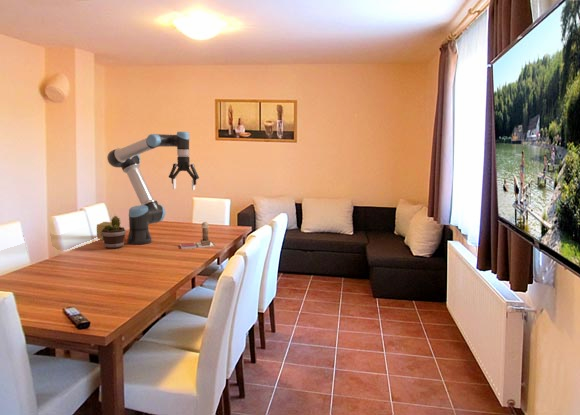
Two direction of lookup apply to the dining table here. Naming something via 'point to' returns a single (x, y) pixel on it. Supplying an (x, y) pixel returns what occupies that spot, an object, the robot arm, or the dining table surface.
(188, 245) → the ink pad
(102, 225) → the cheese
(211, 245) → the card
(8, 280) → the dining table surface
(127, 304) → the dining table surface
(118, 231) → the flowerpot
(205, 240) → the stamp
